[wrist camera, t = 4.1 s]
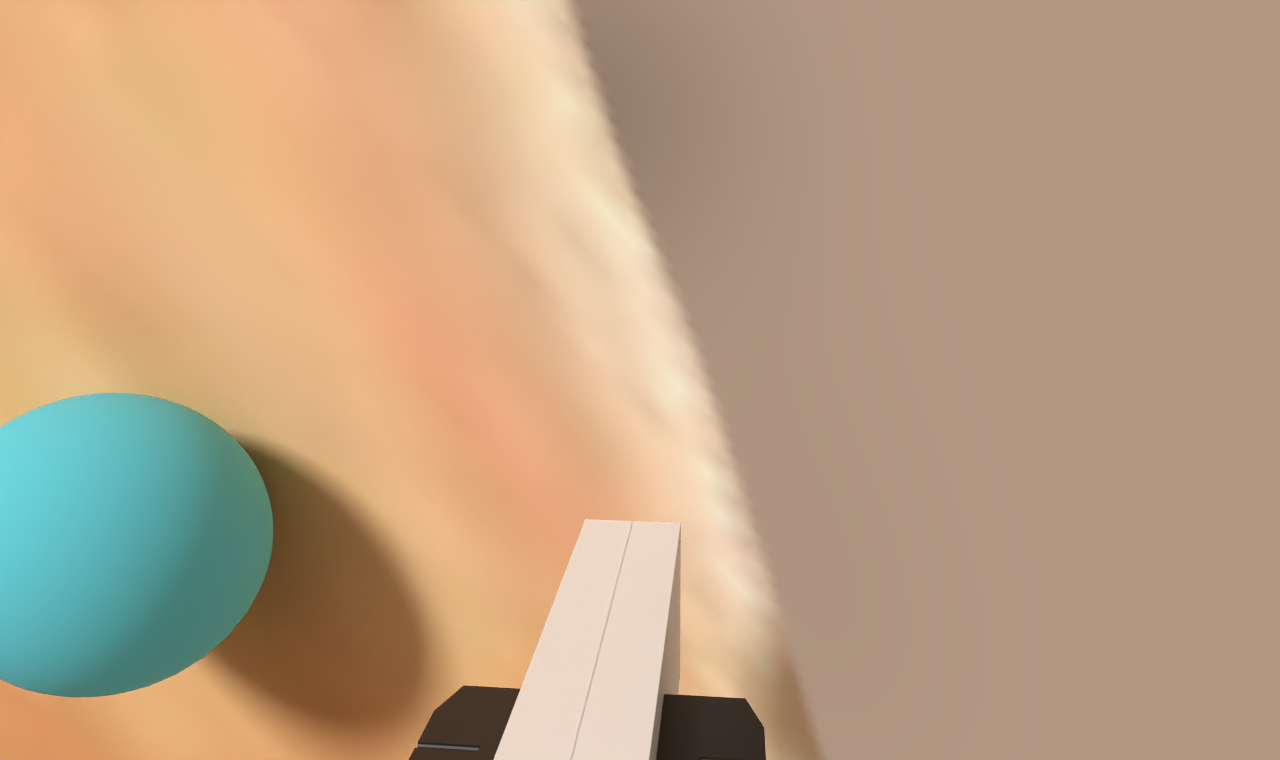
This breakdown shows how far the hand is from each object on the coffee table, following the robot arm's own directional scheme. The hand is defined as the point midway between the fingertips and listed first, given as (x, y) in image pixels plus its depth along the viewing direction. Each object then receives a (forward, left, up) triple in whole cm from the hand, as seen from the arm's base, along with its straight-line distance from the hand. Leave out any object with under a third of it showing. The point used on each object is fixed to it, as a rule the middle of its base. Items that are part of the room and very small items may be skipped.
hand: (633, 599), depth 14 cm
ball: (0, +10, -2) cm, 10 cm away
